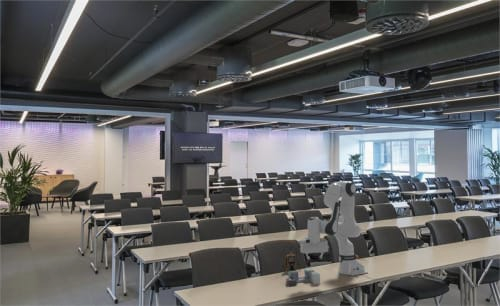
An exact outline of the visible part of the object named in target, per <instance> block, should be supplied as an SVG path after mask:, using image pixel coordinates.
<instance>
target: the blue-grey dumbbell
mask: <svg viewBox="0 0 500 306" xmlns="http://www.w3.org/2000/svg"><path fill="white" fill-rule="evenodd" d="M312 272H316V271H315V270H314V269H313V268H310V269H304V271H303V273H304V276H300V277H299V272H297V270H296V271H287V274H288V278H286V279H285V281H286V282H287V280H289V279H295V280H297V282H298V283H308V282H312Z"/></svg>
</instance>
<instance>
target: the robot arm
mask: <svg viewBox="0 0 500 306" xmlns="http://www.w3.org/2000/svg"><path fill="white" fill-rule="evenodd" d="M356 191H357V185H356V183H355V182H353V181H345V180H343V181H333V182H331V183H330V184H329V186H328V187H327V189H326V192H325V193H324V196H323V203H324V205H325V206H326V207H328V208H329V209H331V216H330V220H328V221H327V220H322V219H320V218H319V217H318V216H311V217H309V218H308V219H307V236H306V237H304V238H302V239H301V243H300V248H299V250H300V253H302V254H305V256H306V259H307V260H311V257H310V256H309V254H311V253H312V254H313V253H314V254H315V253H316V254H317V253H318V254H319V253H320V255H319V259H323V255H324V254H325V253H328V252H329V245H328V244H329V242H328V240H327V239H326V238H321V235H327V236H332V237H335V239H336V241H337V244H338V250H339V251H338V253H339V254H338V261H339V265H338V271H337V272H338V274H340V275H347V276H359V275H364V274H368V270H367V269H365V265H364V264H363V263H362V262H361V261H360V260H359V259H358V258H359V255H357V254H355V252H354V243H352V242H351V240H349V238H358V237H360V236H361V233H362V228H361V226H360V225H359V224H358V223H357V221H356V217H355V206H356V205H355V203H356V202H355V201H356V200H355V194H356ZM340 197H341V199H340ZM339 201H340V203H339ZM340 216H341V217H342V218H343V222H342V221H341V222H340V221H339V218H340Z"/></svg>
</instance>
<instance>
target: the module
mask: <svg viewBox="0 0 500 306" xmlns="http://www.w3.org/2000/svg"><path fill="white" fill-rule="evenodd" d="M311 283H312V284H313V285H319V284H321V274H320V272H317V271H315V272H312V281H311Z"/></svg>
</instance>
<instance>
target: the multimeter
mask: <svg viewBox="0 0 500 306" xmlns="http://www.w3.org/2000/svg"><path fill="white" fill-rule="evenodd" d="M286 248H287V246H285V247H284V249H283V252H282V253H284V252H285V249H286ZM292 248H295V254H293V250H292ZM297 255H298V254H297V248H296V247H295V246H293V245H292V246H291V247H290V252H289V254H286V256H285V264H283V268H285V267H286V271H287V272H285V274H288V271H297V265H298V269H299V270H301V268H300V266H299V264H297V263H299V262H298V259H297V257H298V256H297ZM285 265H286V266H285Z"/></svg>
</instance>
